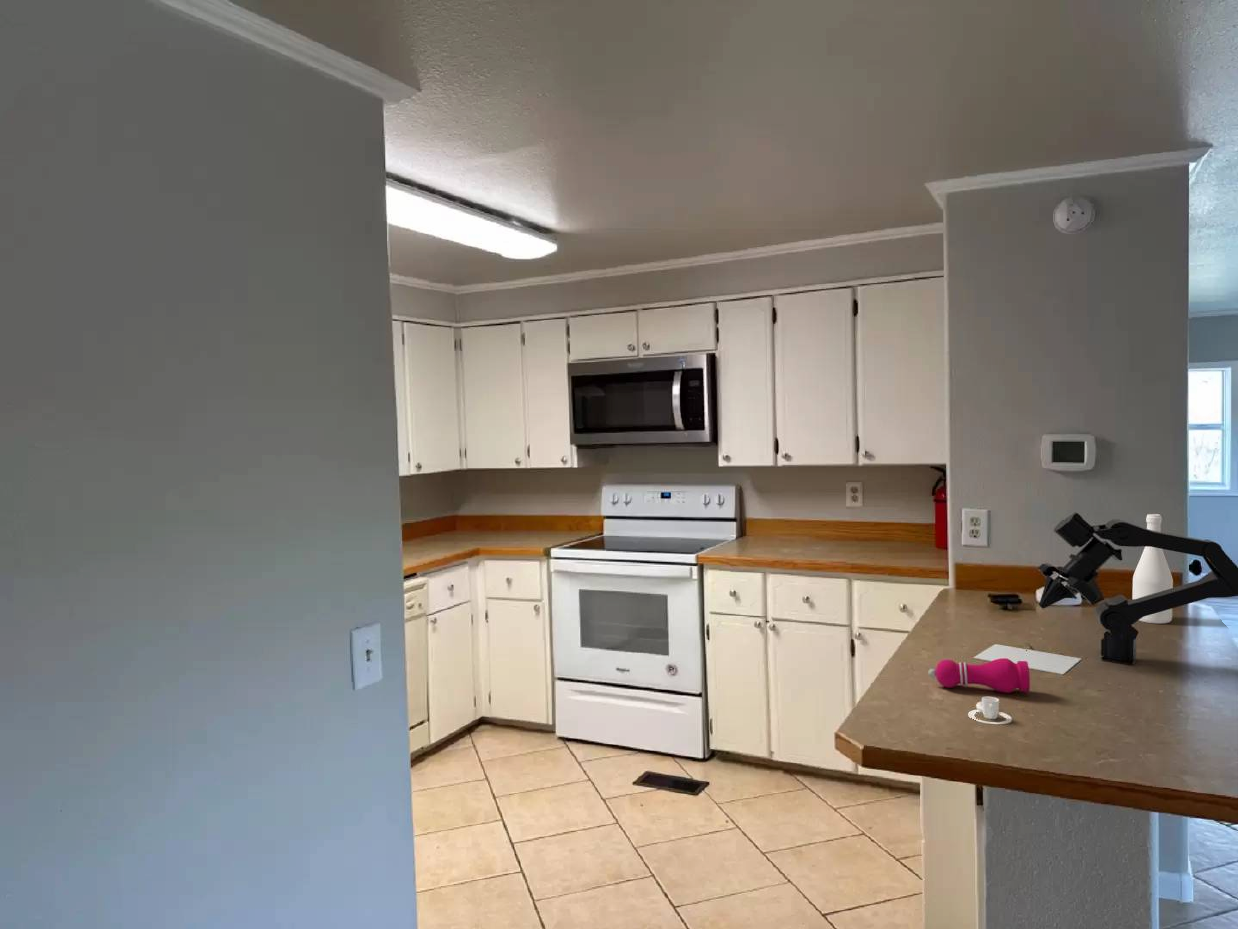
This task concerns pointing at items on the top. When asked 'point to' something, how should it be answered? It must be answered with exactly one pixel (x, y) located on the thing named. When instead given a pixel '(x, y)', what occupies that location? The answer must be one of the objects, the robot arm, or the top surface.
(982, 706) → the teacup and saucer
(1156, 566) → the wine bottle
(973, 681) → the pepper mill
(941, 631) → the top surface
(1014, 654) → the rubber mat
